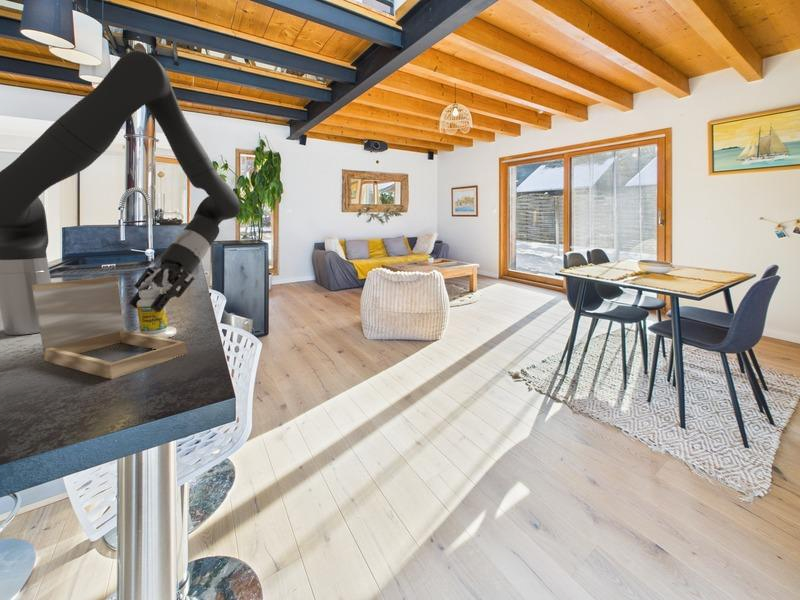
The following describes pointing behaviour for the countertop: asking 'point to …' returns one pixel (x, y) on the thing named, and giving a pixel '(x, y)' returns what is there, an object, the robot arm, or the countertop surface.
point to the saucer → (168, 333)
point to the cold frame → (93, 328)
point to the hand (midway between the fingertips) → (143, 308)
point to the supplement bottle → (150, 313)
